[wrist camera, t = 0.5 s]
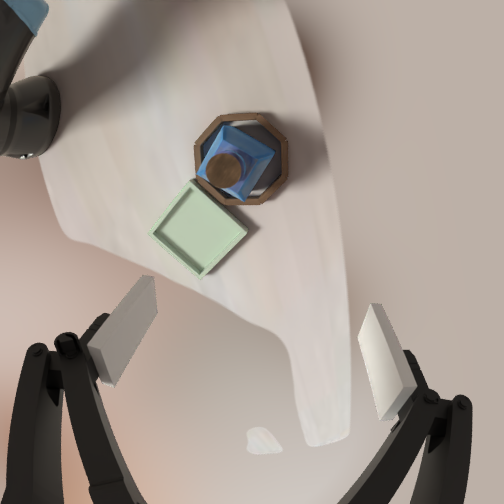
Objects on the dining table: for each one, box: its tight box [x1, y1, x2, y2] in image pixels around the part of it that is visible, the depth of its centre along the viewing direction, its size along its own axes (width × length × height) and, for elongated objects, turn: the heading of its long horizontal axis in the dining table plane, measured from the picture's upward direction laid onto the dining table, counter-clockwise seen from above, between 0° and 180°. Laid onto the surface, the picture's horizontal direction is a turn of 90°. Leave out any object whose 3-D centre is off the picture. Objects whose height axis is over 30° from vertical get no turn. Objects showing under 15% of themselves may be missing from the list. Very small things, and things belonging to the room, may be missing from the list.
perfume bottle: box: [196, 125, 275, 202], centre depth 29 cm, size 6×6×12 cm
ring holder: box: [194, 113, 288, 205], centre depth 34 cm, size 12×12×1 cm
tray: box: [148, 179, 249, 280], centre depth 39 cm, size 10×10×2 cm
